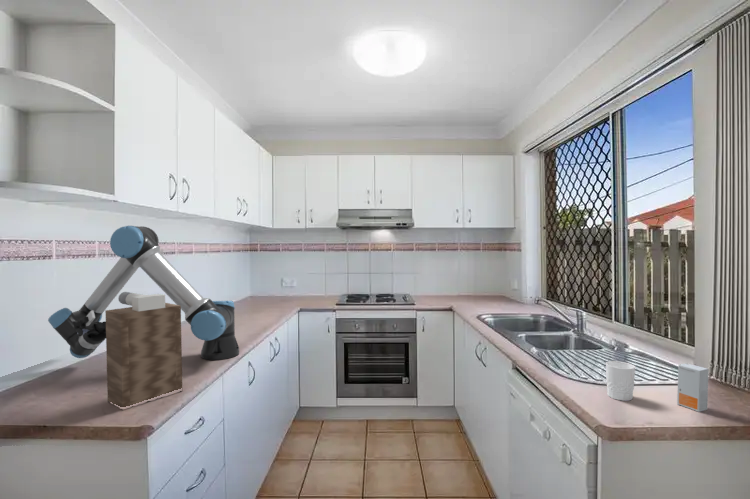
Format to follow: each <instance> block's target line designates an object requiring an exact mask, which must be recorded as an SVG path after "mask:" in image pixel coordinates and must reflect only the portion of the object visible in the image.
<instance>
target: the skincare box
mask: <svg viewBox="0 0 750 499" xmlns="http://www.w3.org/2000/svg"><path fill="white" fill-rule="evenodd" d="M677 367H678V368H677V369H678V370H677V397H676V398H677V399H676V404H677V405H679V406H681V407H684V408H686V409H689V410H692V411H696V412H698V413H699V412H700V413H701V412H703V411H707V410H708V401H709V400H708V398H709V392H708V391H709V371H710V370H709V368H708V367H703V366H698V365H694V364H691V363H688V362H687V363H681V364H678V366H677Z"/></svg>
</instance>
